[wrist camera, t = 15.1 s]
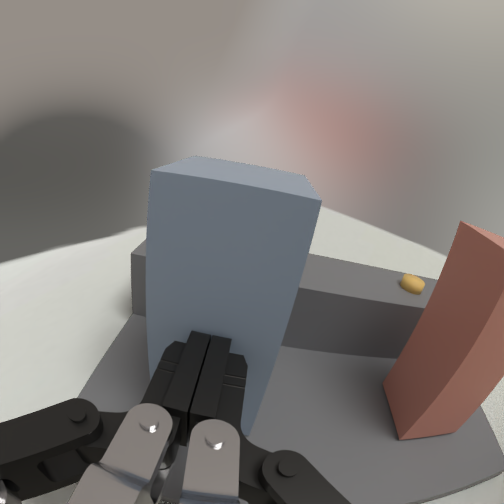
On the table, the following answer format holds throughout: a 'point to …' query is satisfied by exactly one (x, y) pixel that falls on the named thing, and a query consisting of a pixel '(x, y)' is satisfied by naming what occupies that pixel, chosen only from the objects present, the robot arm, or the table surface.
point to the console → (328, 388)
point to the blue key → (226, 260)
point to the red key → (453, 341)
